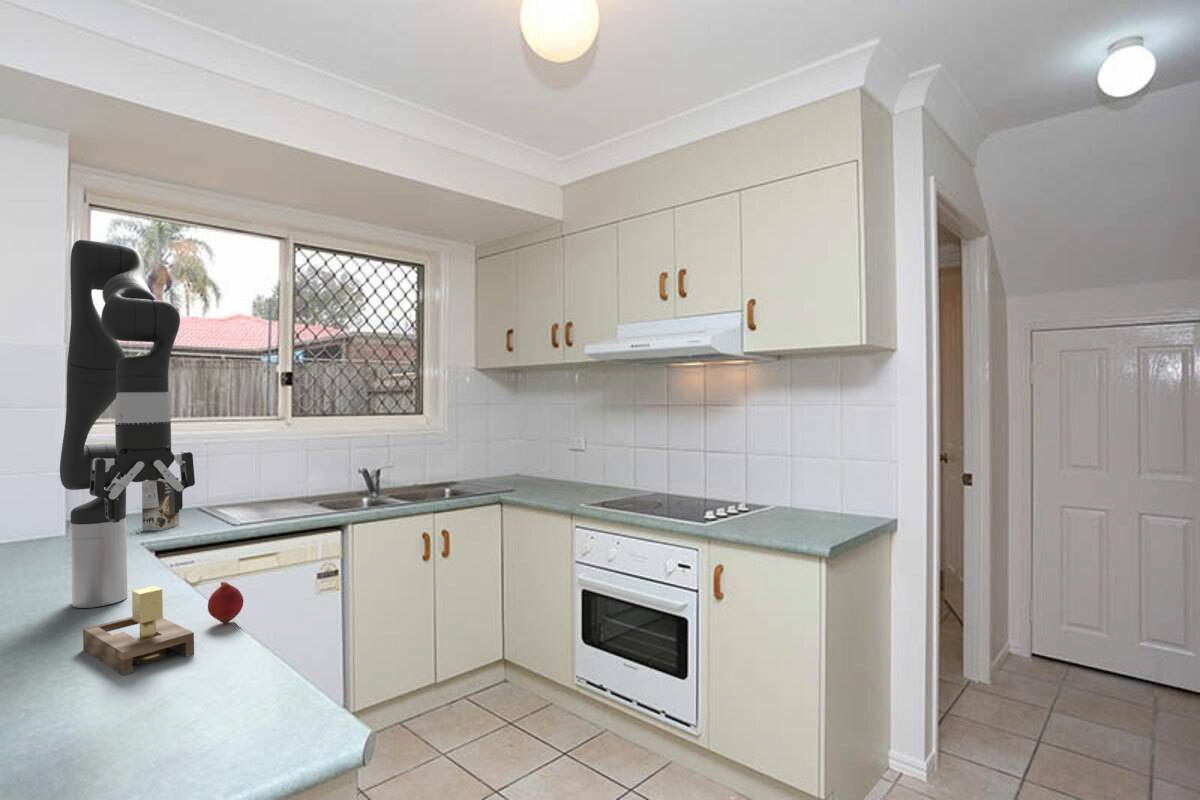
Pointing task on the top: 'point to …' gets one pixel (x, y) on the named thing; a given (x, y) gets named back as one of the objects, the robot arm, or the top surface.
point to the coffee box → (156, 506)
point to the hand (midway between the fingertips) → (145, 517)
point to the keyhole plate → (134, 642)
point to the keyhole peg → (147, 618)
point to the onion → (225, 603)
